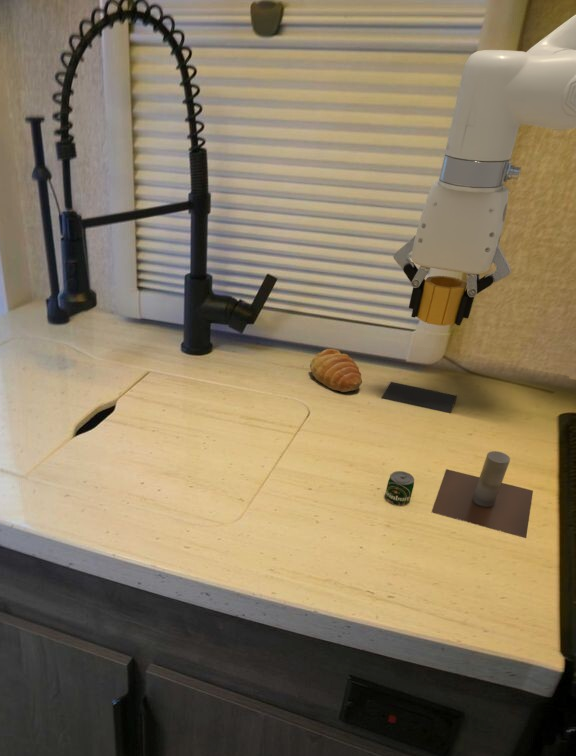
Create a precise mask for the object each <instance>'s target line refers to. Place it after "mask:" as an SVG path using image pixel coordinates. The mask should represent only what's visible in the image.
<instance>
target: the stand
mask: <svg viewBox="0 0 576 756" xmlns="http://www.w3.org/2000/svg"><path fill="white" fill-rule="evenodd" d="M510 462H511V457H510V456H509V455H508V454H506V453H505V452H502V451H498V450H497V451H495V450H494V451H489V452H488V453H487V454H486V456H485V459H484V462H483V465H482V469H481V472H480V473H479V476H476V475H472V474H468V473H464V472H459V471H455V470H452V469H448V468H447V469H445V471H444V475H443V477H442V480H441V482H440V486H439V488H438V491H437V495H436V498H435V500H434V503H433V506H432V509H431V514H435V515H438V516H442V517H446V518H449V519H453V520H457V521H461V522H464V523H468V524H472V525H475V526H479V527H483V528H487V529H490V530H494V531H497V532H501V533H504V534H509V535H513V536H517V537H519V538H523V539H527V534H528V529H529V521H530V516H531V515H530V514H531V508H532V501H533V493H534V490H532V489H529V488H524V487H520V486H516V485H513V484H508V483H504V482H503V481H504V479H505V476H506V473H507V470H508V467H509V464H510Z"/></svg>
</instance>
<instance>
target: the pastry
mask: <svg viewBox="0 0 576 756" xmlns="http://www.w3.org/2000/svg"><path fill="white" fill-rule="evenodd" d="M309 368H310V372H311V375H312V376H313V377H314V378H315V380H316V381H318V382H319V383H322V385H323V386H325V387H327V388H328V389H331V390H332V391H339V392H340V393H347V392H350V391H351V392H352V391H355V390H358V389H359V388H360V386H361V385H362V383H363V379H362V373H361V371H360V369H359V368H360V367H359V366H358V365H357V363H356V362H355V360H354V359H353V358H351V357H350V355H348V354H347V353H341V352H340V350H338V349H335V348H326V349H323V350H322V351H320V352H318V353H317V354H316V355H315V356H314V357H313V358H312V359H311V361H310V363H309Z"/></svg>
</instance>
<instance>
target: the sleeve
mask: <svg viewBox="0 0 576 756" xmlns="http://www.w3.org/2000/svg"><path fill="white" fill-rule="evenodd" d="M466 289H467V281H464V280H463V279H460V278H458V277H453V276H448V275H433V276H428V277H426V278H425V283H424V288H423V293H422V298H421V302H420V306H419V311H418V315H417V317H416V318H417V319H419V320H420V321H422V322H424V323H426V324H430V325H435V326H451V325H456V324H455V321H456V317H457V314H458V310H459V306H460V302H461V299H462V296H463V294H464V292H465V291H466Z"/></svg>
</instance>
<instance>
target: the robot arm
mask: <svg viewBox="0 0 576 756" xmlns="http://www.w3.org/2000/svg"><path fill="white" fill-rule="evenodd" d="M520 126H531V127H538V128H543V129H548V130H553V131H567V130H573V129H576V14H574V15H572V16H571V17H570V18H568V19H567V20H566V21H565V22H563V23H562V24H561V25H559V26H558V27H556V28H555V29H554V30H552V31H551V32H550V33H548V34H547V35H546V36H544V37H543V38H542V39H541V40H539V41H538V42H537V43H535V44H534V45H533V46H531V47H530V48H529V49H528V50H527V51H521V50H510V49H509V50H507V49H483V50H478V51H475V52H473V53H471V55H470V56H469V57H468V58H467V60H466V61H465V63H464V67H463V70H462V75H461V79H460V82H459V87H458V92H457V97H456V101H455V105H454V111H453V114H452V120H451V124H450V129H449V133H448V138H447V142H446V147H445V151H444V156H443V159H442V165H441V169H440V174H439V178H438V179H436V180H433V183H432V185H431V187H430V189H429V192H428V194H427V197H426V200H425V202H424V206H423V208H422V212H421V215H420V218H419V222H418V226H417V229H416V232H415V235H414V236H413V237H412V238H411V239H409V240H408V241H407V242H406V243H405V244H404V245H402V246H401V247H400V248H399V249H398V250H396V252H395V253H394V254H393V257H392V258H393V260H394V261H395V262H396V263H397V265H398V266H399V267H400V268H401V269H402V271H403V273H404V274H405V276H406V277H407V279H408V280H409V282H410V286H411V287H412V291H411V295H410V299H409V305H408V309H411V310H412V311H411V315H410V317H411V318H417V315H418V311H419V306H420V302H421V298H422V293H423V288H424V283H425V280H426V278H427V277H426V276H427V275H428V274H429V271H430V270H431V269H435V270H436V269H437V270H442V271H449V272H456V273H462V274H463V273H464V274H465V276H466V278H465V279H466V283H467V286H466V289H465V292H464V294H463V296H462V299H461V302H460V306H459V310H458V314H457V317H456V321H455V324H454V325H456V326H461V325H462V322H463V320H464V319H469V317H470V314H471V311H472V308H473V304H474V300H475V297H476V296H477V295H478V294H479V293H481V292H482V291H484V290H485V289H488V288H489V287H491V286H492V285H493V284H496V283H497V282H499V281H501V280H503V279H505V278H507V277H509V276H510V275H511V272H512V268H511V266H510V264H509V262H508V259H507V258H506V256H505V253H504V252H503V251H502V248H501V246H500V241H501V237H502V232H503V228H504V225H505V219H506V215H507V209H508V202H509V191H510V189H509V187H507V186H506V185H505V186H504V184H505V183H506V182H508V181H511V180H518V179H519V177H520V173H521V169H522V166H516V164H515V165H514V164H513V162H511V160H512V159H511V158H512V155H513V151H514V148H515V145H516V140H517V137H518V133H519V129H520ZM409 254H411V258H410V257H409ZM492 264H494V266H495V269H494V271H492V272H490V273H487V272H488V271H489V270H490V269H491V266H492ZM416 265H417V266H419V267H417V266H416ZM485 273H487V274H485ZM480 274H485V275H484V276H482V277H481V278H480Z"/></svg>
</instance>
